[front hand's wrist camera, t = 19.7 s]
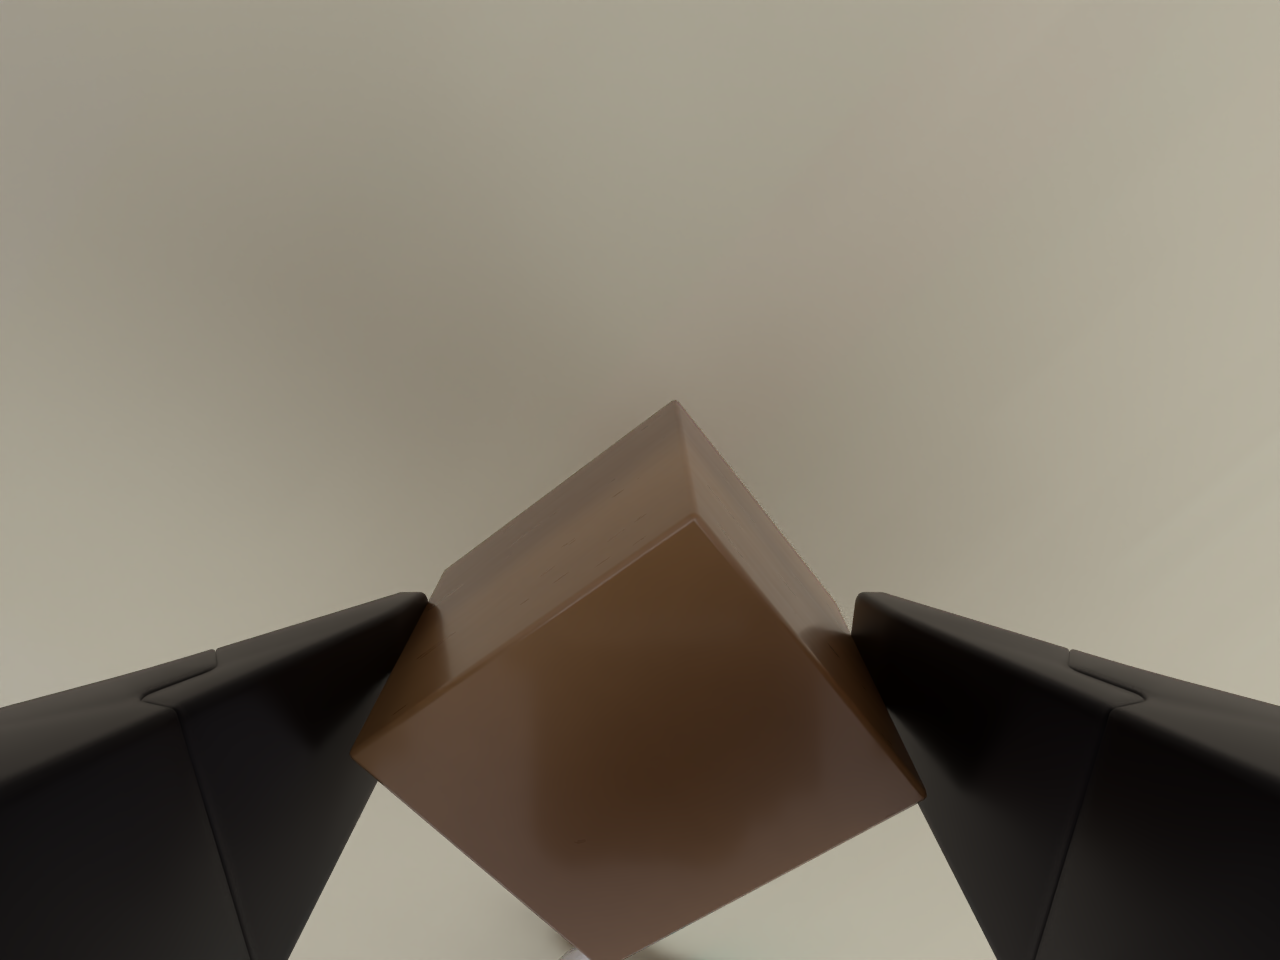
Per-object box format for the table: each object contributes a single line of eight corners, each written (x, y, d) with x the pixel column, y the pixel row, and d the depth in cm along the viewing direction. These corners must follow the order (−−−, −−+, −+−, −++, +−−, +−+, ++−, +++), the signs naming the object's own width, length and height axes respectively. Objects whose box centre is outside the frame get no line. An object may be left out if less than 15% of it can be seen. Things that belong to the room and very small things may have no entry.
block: (442, 570, 12) (344, 756, 8) (675, 396, 11) (696, 512, 7) (613, 742, 14) (602, 973, 10) (836, 603, 13) (931, 799, 8)
